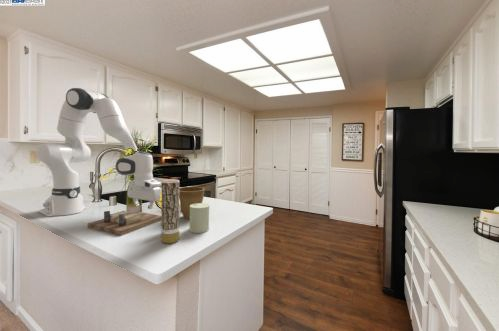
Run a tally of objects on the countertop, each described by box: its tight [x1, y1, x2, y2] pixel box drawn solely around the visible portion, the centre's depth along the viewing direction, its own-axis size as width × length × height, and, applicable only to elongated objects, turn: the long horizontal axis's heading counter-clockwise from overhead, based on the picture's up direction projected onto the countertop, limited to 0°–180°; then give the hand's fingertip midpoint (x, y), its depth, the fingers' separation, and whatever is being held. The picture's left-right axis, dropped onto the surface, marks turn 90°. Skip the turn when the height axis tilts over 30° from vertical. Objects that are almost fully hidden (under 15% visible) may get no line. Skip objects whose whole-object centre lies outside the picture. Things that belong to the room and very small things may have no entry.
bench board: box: [87, 210, 161, 237], centre depth 109 cm, size 22×24×7 cm
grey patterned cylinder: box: [160, 178, 180, 245], centre depth 90 cm, size 7×7×25 cm
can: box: [188, 202, 211, 234], centre depth 104 cm, size 9×9×12 cm
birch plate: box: [110, 210, 141, 225], centre depth 107 cm, size 12×8×3 cm, turn 68°
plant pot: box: [179, 186, 205, 220], centre depth 121 cm, size 15×15×16 cm
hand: (143, 207), depth 118 cm, fingers open, 8 cm apart
